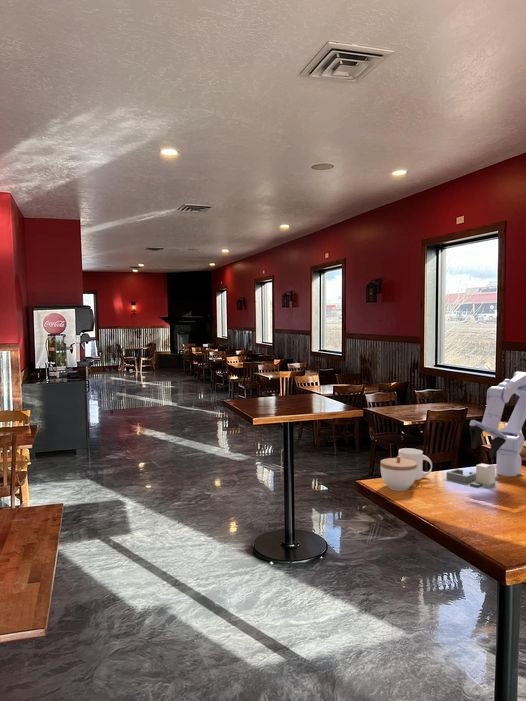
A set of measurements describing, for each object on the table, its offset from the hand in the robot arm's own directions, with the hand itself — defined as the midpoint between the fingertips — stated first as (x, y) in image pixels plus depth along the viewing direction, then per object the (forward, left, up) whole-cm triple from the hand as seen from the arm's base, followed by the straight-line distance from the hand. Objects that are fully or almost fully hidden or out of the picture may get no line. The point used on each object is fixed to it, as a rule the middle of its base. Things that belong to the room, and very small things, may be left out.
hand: (482, 452), depth 197 cm
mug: (+11, -20, -12) cm, 26 cm away
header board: (0, -4, -12) cm, 13 cm away
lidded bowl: (+24, -18, -12) cm, 32 cm away
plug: (-4, 0, -11) cm, 12 cm away
